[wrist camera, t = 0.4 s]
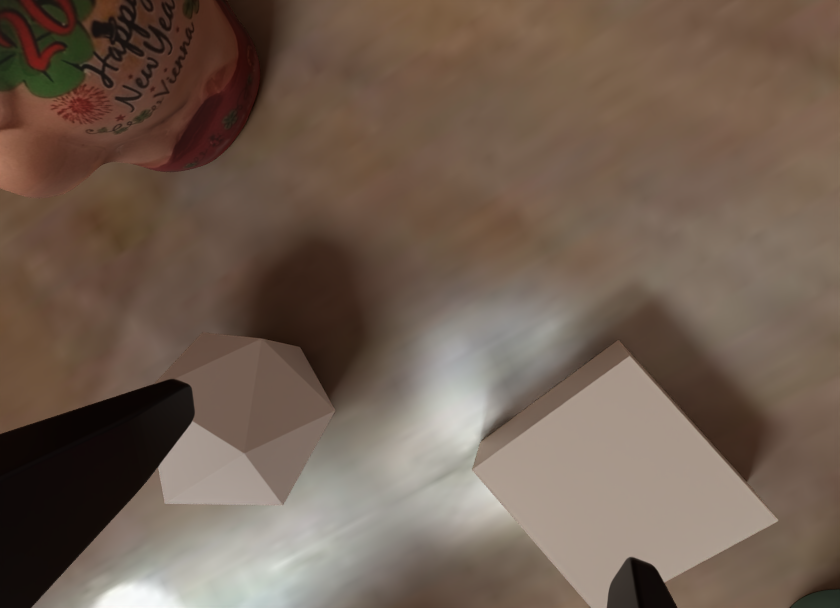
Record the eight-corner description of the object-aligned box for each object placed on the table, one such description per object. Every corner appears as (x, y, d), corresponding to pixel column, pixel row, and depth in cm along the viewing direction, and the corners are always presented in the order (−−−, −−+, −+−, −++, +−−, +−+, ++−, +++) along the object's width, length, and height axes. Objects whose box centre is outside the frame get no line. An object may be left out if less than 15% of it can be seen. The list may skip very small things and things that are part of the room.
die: (219, 310, 29) (74, 444, 23) (282, 272, 22) (101, 445, 16) (312, 399, 32) (204, 540, 25) (392, 389, 25) (273, 574, 19)
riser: (592, 571, 24) (599, 617, 22) (480, 442, 25) (471, 469, 22) (747, 482, 22) (778, 520, 19) (618, 339, 22) (629, 355, 19)
